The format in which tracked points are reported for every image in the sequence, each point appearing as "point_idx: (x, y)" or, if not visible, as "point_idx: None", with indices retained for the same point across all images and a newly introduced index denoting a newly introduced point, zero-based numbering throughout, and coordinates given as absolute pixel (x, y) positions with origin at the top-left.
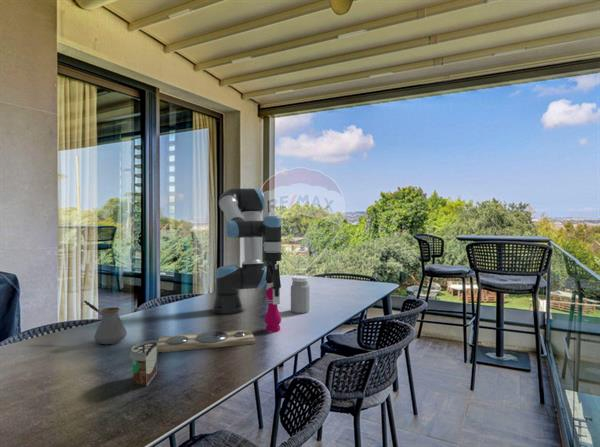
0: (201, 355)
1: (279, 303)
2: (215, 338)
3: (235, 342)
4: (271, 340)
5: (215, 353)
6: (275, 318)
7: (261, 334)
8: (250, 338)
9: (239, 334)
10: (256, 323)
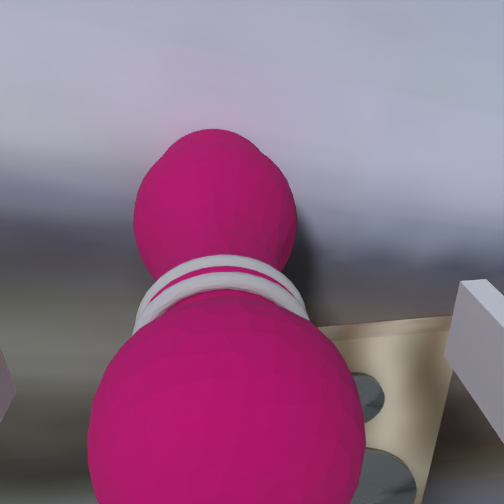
0: (485, 493)
1: (489, 287)
2: (381, 491)
3: (439, 410)
4: (440, 225)
5: (490, 458)
6: (296, 219)
7: (297, 272)
8: (430, 352)
9: (363, 407)
10: (14, 286)
